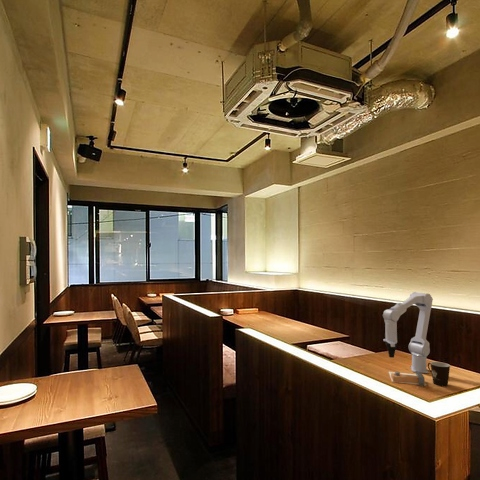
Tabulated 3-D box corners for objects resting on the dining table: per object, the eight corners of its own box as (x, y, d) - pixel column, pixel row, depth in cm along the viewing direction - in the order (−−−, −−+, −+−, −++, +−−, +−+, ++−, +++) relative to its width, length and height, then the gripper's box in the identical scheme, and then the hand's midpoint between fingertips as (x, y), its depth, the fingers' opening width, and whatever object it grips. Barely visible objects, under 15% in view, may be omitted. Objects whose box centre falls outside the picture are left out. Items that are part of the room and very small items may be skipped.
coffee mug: (453, 388, 168) (452, 367, 168) (434, 386, 169) (433, 366, 170) (444, 379, 179) (443, 360, 180) (426, 378, 181) (426, 359, 181)
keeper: (415, 379, 179) (415, 371, 179) (420, 380, 178) (420, 371, 178) (419, 385, 170) (418, 376, 171) (424, 386, 170) (424, 377, 170)
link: (393, 381, 176) (393, 376, 176) (391, 377, 181) (391, 372, 181) (425, 383, 172) (424, 378, 172) (422, 380, 177) (422, 375, 177)
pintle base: (388, 371, 191) (388, 364, 191) (420, 375, 186) (420, 367, 186) (391, 381, 176) (391, 373, 176) (426, 385, 171) (426, 377, 171)
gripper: (382, 328, 194) (382, 352, 193) (384, 334, 180) (384, 360, 180) (395, 329, 192) (395, 354, 191) (399, 335, 178) (399, 361, 177)
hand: (391, 357), depth 185 cm, fingers closed
